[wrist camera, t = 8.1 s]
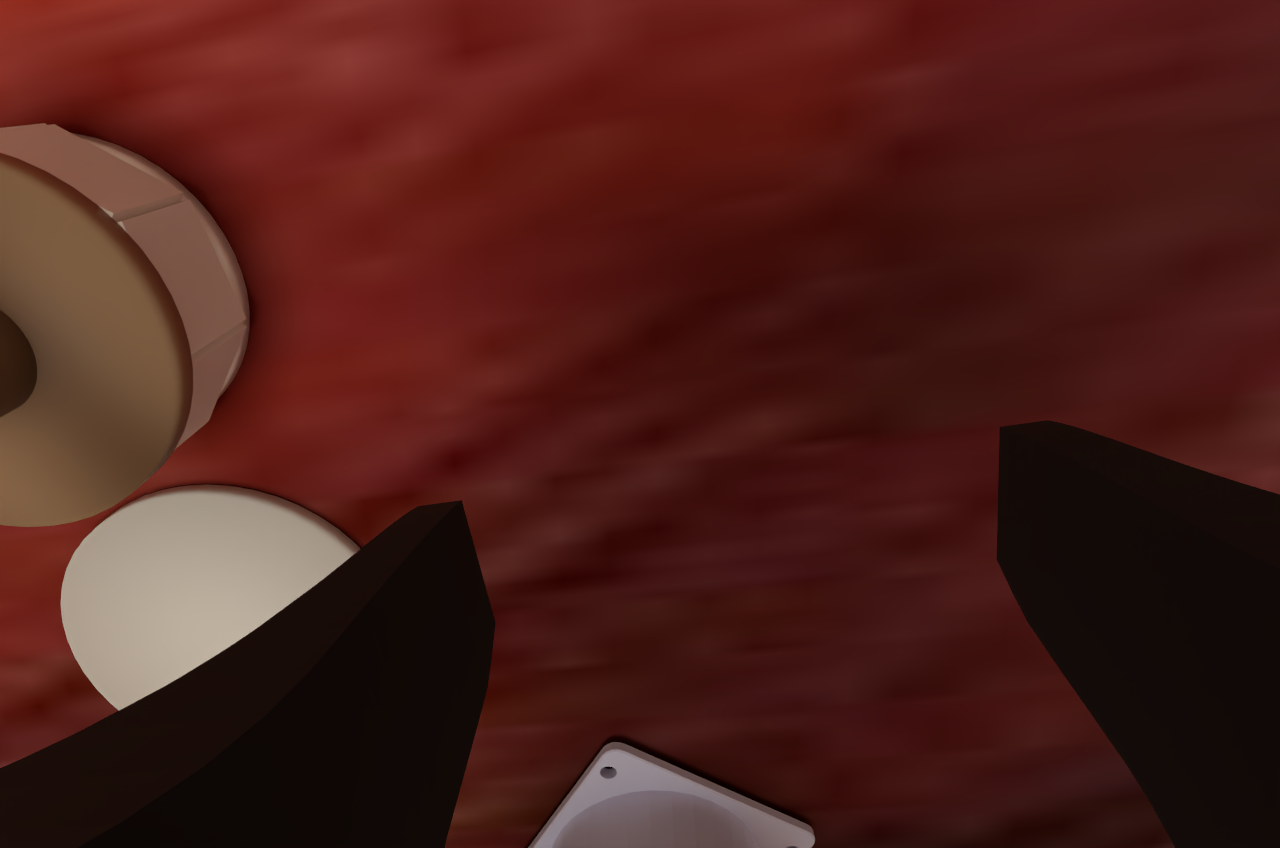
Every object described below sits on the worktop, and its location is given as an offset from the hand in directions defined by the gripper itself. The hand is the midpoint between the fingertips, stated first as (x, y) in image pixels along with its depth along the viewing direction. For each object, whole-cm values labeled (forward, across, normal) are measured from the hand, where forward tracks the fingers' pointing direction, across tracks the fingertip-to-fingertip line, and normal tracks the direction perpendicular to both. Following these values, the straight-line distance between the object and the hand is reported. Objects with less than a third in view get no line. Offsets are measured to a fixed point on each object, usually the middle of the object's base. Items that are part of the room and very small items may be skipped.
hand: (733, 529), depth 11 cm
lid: (+7, +14, -3) cm, 16 cm away
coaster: (+10, +14, +8) cm, 19 cm away
